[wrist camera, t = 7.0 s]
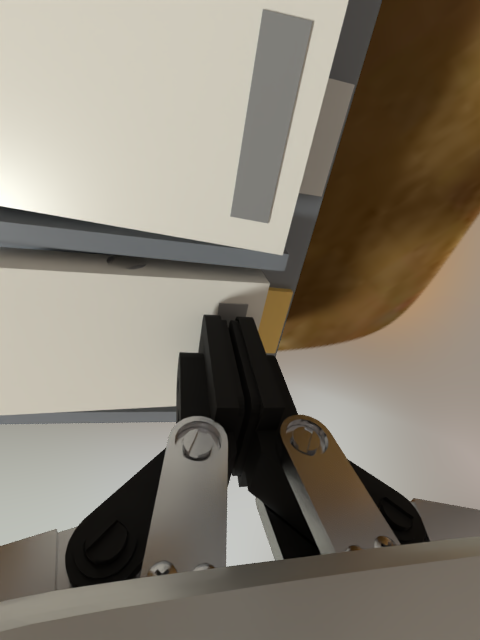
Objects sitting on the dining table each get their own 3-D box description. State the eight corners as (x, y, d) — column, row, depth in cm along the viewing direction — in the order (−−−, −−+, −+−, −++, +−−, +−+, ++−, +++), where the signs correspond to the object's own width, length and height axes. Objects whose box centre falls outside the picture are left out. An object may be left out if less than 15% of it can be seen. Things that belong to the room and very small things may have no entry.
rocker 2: (-36, 241, 9) (-68, 264, 8) (257, 263, 12) (270, 284, 10) (4, 382, 12) (-14, 417, 11) (232, 376, 15) (240, 403, 13)
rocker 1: (-87, -105, 7) (-177, -165, 5) (335, 0, 7) (356, -29, 6) (-19, 184, 9) (-64, 195, 8) (277, 237, 10) (282, 256, 9)
